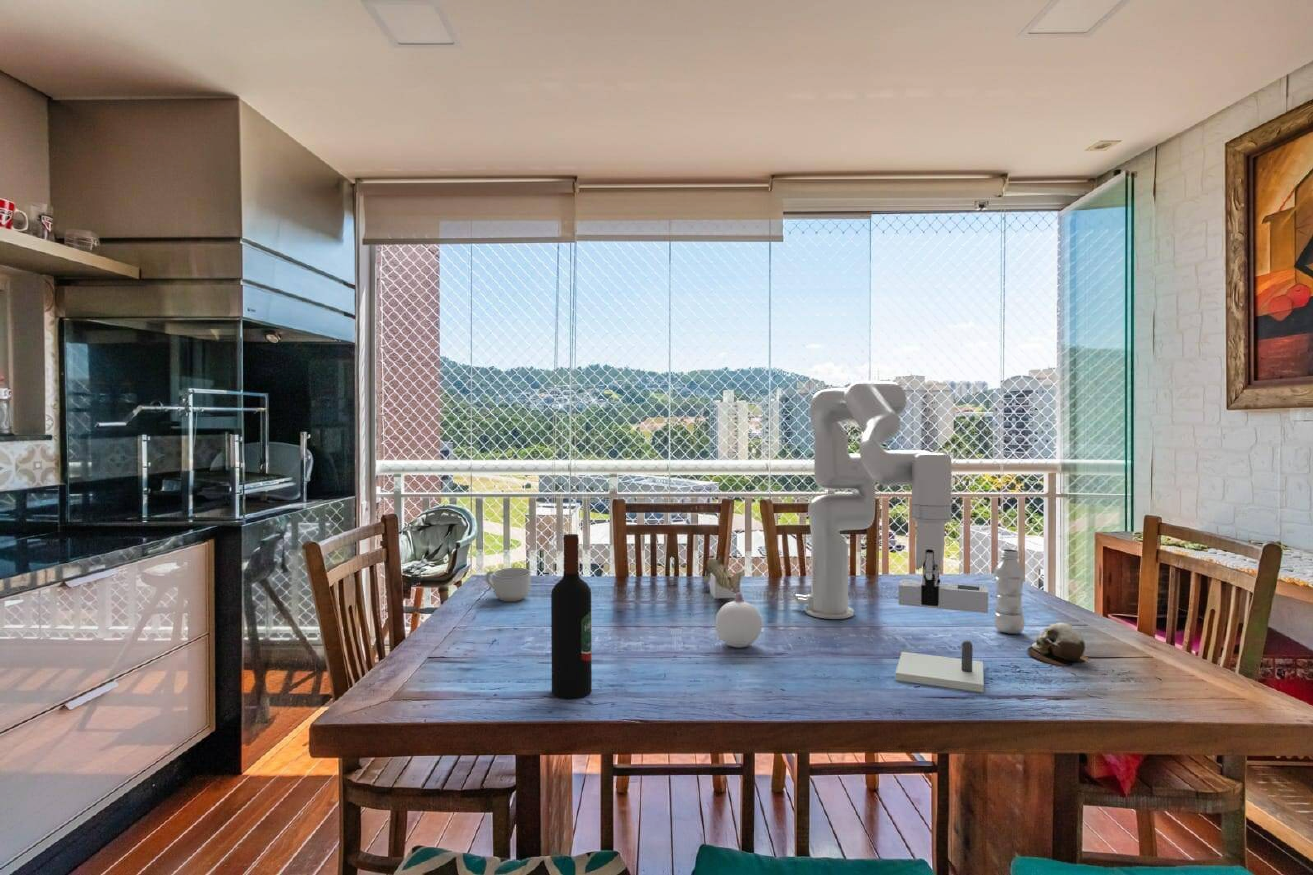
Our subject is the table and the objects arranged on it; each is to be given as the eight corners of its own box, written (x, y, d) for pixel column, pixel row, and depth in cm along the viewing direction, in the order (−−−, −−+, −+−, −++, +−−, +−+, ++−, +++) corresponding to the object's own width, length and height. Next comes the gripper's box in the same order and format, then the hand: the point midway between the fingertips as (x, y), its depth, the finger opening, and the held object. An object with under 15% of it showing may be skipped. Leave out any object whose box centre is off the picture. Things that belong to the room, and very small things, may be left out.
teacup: (538, 597, 210) (538, 570, 210) (512, 605, 201) (512, 577, 201) (503, 591, 217) (503, 564, 217) (476, 599, 208) (476, 571, 208)
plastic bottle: (1027, 637, 172) (1029, 553, 171) (997, 635, 173) (998, 552, 172) (1020, 629, 178) (1021, 548, 177) (990, 628, 179) (991, 547, 179)
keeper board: (895, 680, 144) (895, 642, 144) (901, 658, 157) (902, 624, 157) (983, 692, 138) (983, 653, 138) (982, 668, 151) (983, 633, 150)
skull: (1011, 649, 160) (1032, 611, 163) (1035, 675, 164) (1056, 637, 166) (1062, 664, 149) (1083, 623, 152) (1087, 692, 153) (1107, 651, 156)
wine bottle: (552, 684, 142) (552, 532, 141) (591, 683, 142) (591, 531, 142) (550, 699, 134) (549, 538, 133) (591, 698, 135) (590, 538, 134)
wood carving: (723, 614, 192) (723, 572, 192) (697, 584, 227) (697, 548, 226) (756, 613, 193) (756, 571, 193) (725, 583, 228) (725, 547, 228)
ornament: (735, 636, 173) (735, 586, 172) (770, 646, 166) (770, 594, 165) (706, 646, 166) (706, 593, 165) (741, 656, 158) (742, 602, 158)
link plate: (898, 604, 147) (898, 585, 147) (901, 598, 153) (901, 579, 153) (987, 613, 141) (988, 592, 140) (987, 605, 146) (987, 586, 146)
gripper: (914, 507, 157) (914, 590, 157) (908, 517, 141) (907, 609, 141) (952, 509, 154) (951, 594, 154) (949, 519, 138) (949, 613, 138)
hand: (930, 600), depth 148 cm, fingers closed on link plate, 6 cm apart
